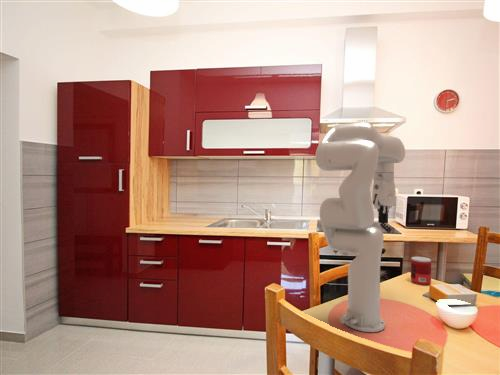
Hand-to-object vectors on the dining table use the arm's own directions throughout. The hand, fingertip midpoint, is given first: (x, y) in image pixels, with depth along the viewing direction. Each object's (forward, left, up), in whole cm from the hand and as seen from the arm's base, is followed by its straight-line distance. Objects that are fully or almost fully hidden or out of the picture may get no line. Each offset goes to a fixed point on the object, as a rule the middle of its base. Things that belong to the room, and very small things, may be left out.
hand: (383, 222), depth 119 cm
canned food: (+28, -2, -29) cm, 41 cm away
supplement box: (+9, -16, -26) cm, 32 cm away
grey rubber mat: (+18, -14, -29) cm, 37 cm away
